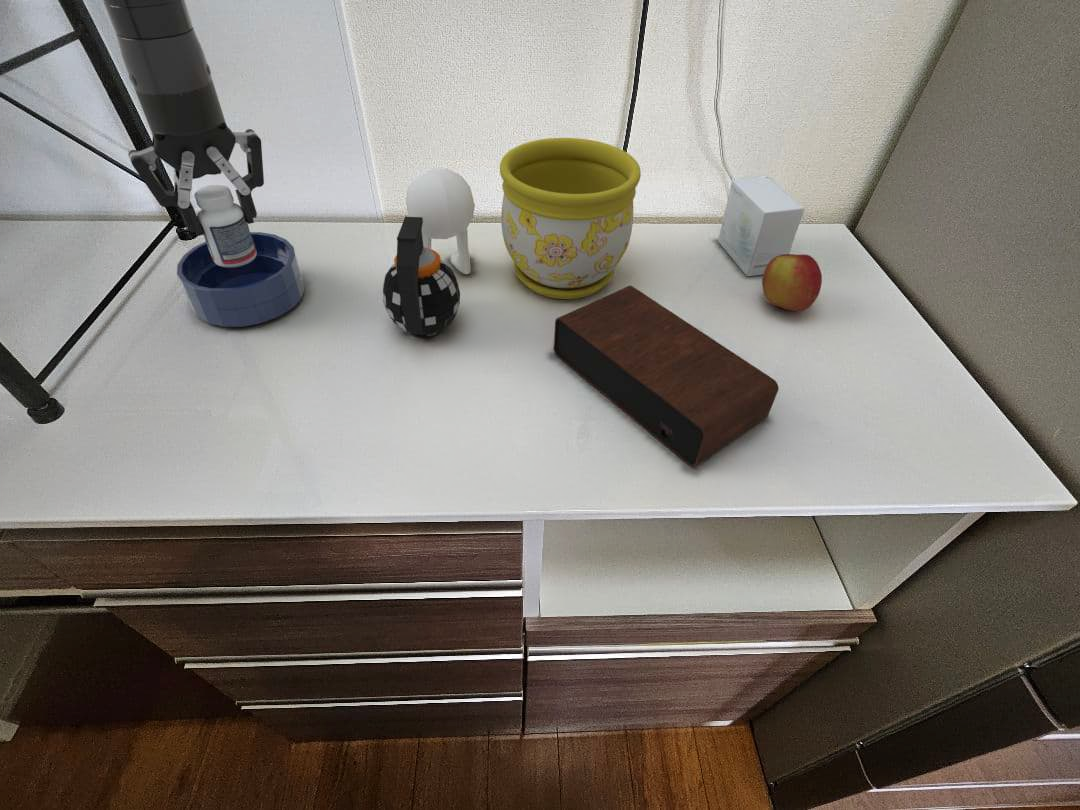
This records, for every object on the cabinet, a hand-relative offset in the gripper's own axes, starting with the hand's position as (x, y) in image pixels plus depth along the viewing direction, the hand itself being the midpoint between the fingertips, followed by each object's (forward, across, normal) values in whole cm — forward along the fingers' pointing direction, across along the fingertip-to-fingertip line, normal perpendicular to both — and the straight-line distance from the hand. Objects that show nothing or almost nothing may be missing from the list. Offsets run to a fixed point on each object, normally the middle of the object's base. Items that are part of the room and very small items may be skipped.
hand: (224, 226), depth 77 cm
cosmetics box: (+11, -68, +27) cm, 74 cm away
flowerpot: (+11, -40, +17) cm, 45 cm away
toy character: (+11, -26, +7) cm, 29 cm away
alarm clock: (+11, -36, +42) cm, 56 cm away
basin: (+11, 0, 0) cm, 11 cm away
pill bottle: (+5, 0, 0) cm, 5 cm away
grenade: (+11, -17, +18) cm, 27 cm away
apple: (+11, -62, +39) cm, 74 cm away
